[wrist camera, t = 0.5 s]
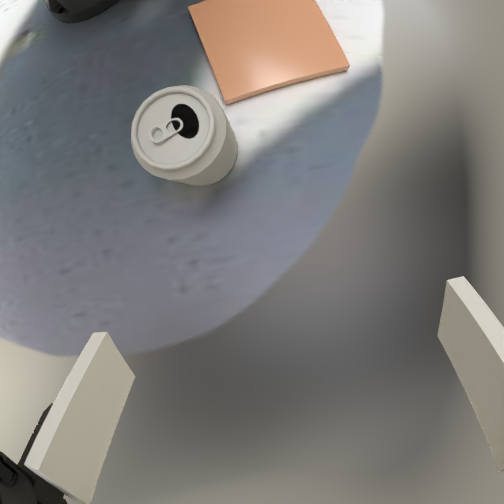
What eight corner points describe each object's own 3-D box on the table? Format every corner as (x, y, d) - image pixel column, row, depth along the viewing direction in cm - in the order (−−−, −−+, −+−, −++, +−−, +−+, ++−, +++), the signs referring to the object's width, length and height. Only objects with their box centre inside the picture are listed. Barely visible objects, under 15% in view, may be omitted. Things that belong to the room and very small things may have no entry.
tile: (190, 13, 29) (187, 6, 28) (298, -17, 28) (299, -23, 27) (226, 105, 31) (224, 100, 30) (346, 70, 30) (349, 65, 28)
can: (251, 166, 32) (242, 145, 20) (187, 199, 33) (146, 198, 21) (219, 106, 31) (195, 60, 19) (158, 139, 32) (108, 112, 20)
